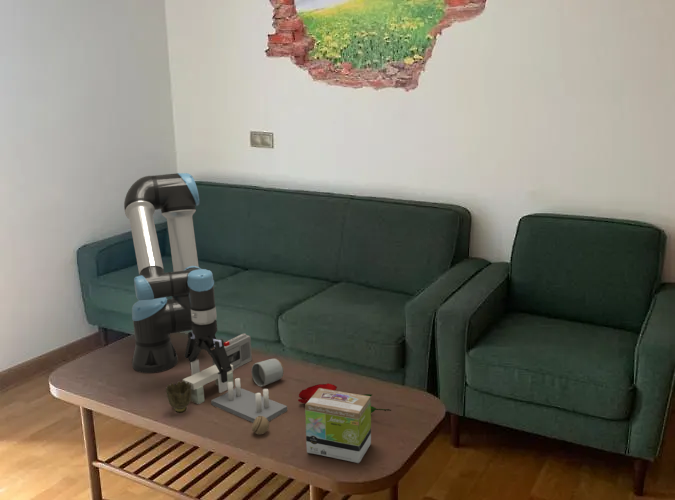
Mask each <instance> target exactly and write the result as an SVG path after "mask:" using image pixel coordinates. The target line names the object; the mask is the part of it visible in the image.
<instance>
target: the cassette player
mask: <svg viewBox="0 0 675 500" xmlns="http://www.w3.org/2000/svg"><path fill="white" fill-rule="evenodd" d="M224 348H225V351H226V353H227V356H228V359H229V362H230V364H231V365H233V370H236V369H238V368H240V367H242V366H244V365H246V364H247V363H249V362H251V361H252V360H253V356H252V339H251V335H247V334H246V333H241V334H239V335H237V336H235V337H233V338H231V339H229V340H227V341H225V342H224ZM213 365H216V364H215V363H214V361H213V359H212V366H213Z"/></svg>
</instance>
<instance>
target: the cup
mask: <svg viewBox="0 0 675 500" xmlns="http://www.w3.org/2000/svg"><path fill="white" fill-rule="evenodd" d="M165 391H166V397H167V400H168V403H169V405H170V407H172V408H173V409H174V412H175V413H176V414H183V413H185V412H187V410H188V406H189V405H190V404H191V402H192V401H191V383H190V384H189V382H188V383H186V382H185V381H183V380H182V381H179V380H177V382H176V383H175V384H174V383H173V382H171V383H170V384H167V385H166V387H165Z"/></svg>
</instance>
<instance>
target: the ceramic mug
mask: <svg viewBox="0 0 675 500" xmlns="http://www.w3.org/2000/svg"><path fill="white" fill-rule="evenodd" d="M284 372H285V371H284V365H283V364H282V362H281V361H280V360H279V359H278V358H270V359H266V360H262V361H258V362H255V363H253V365H252V367H251V377H252V380H253V381H254V384H255V385H257V386H258V387H260V388H261V387H265V386H268V385H269V384H273V383H275V382H278V381H279V380H280V379H283V377H284Z"/></svg>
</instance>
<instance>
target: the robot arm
mask: <svg viewBox="0 0 675 500" xmlns="http://www.w3.org/2000/svg"><path fill="white" fill-rule="evenodd" d="M199 205H200V195H199V189H198V186H197V184H196V181H195V179H194V177H193V175H191V174H190V173H187V172H184V173H183V172H182V173H181V172H176V173H166V174H158V175H157V174H156V175H146V176H143V177H140V178H139V179H137V180H136V181H135V182H134V183H133V184H132V185H131V186H130V187H129V188H128V190H127V192H126V194H125V197H124V202H123V207H124V215H125V216H126V218H127V219H129V225H130V230H131V231H130V232H131V235H132V241H133V247H134V252H135V258H136V264H137V268H138V276H135V277H134V278H133V284H134V293H135V297H136V299H137V301H136V302H134V304H133V305H132V307H131V312H132V313H131V315H132V316H131V319H132V322H133V333H134V341H135V346H134V351H133V357H132V359H131V361H132V362H131V363H132V368H133V370H134V371H136V372H139V373H145V374H154V373H160V372H165V371H168V370H170V369H171V368H174V367H175V366H176V365H177V364H178V362H179V357H178V353H177V351H176V349H175V347H174V345H173V342H172V339H171V334H176V333H181V332H183V333H184V332H188V331H189V332H188V333H187V342H186V343H187V344H186V348H185V352H184V358H185V359H188V362H189V367H190V372H191V375H193V374H196V373H198V372H200V360H199V355H200V353H201V352H202V350H203V351H204V350H205V352H207V353H208V355H210V357H211V358H212V359H213V360H212V362H213V361H214V363H215V364H216V366H217V368H218V370H219V372H218V385H217V387H218V393H220V394H222V393H224V392H225V391H226V392H227V391H228V389H227V372H228V371H231V370H232V368H231V365H230V362H229V359H228V356H227V353H226V351H225V348H224V339H222V338H220V339H217V338H216V334H217V332H218V322H217V321H218V320H217V307H216V300H215V299H216V297H215V280H214V275H213V272H212V271H211V270H208V269H206V268H201V267H200V266H199V259H198V251H197V244H196V237H195V236H196V235H195V230H194V229H195V228H194V219H193V215H194V214H195V213H196V211H197V210H196V207H198V206H199ZM157 210H161V216H163V217H164V218H165V219H166V223H167V231H168V238H169V245H170V254H171V261H172V268H173V269H172V270H173V271H170V272H165V270H164V269H165V268H164V264H163V260H162V255H161V250H160V245H159V239H158V235H157V229H156V226H155V220H154V214H155V213H156V212H155V211H157ZM169 297H170V299H168V298H169Z"/></svg>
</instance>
